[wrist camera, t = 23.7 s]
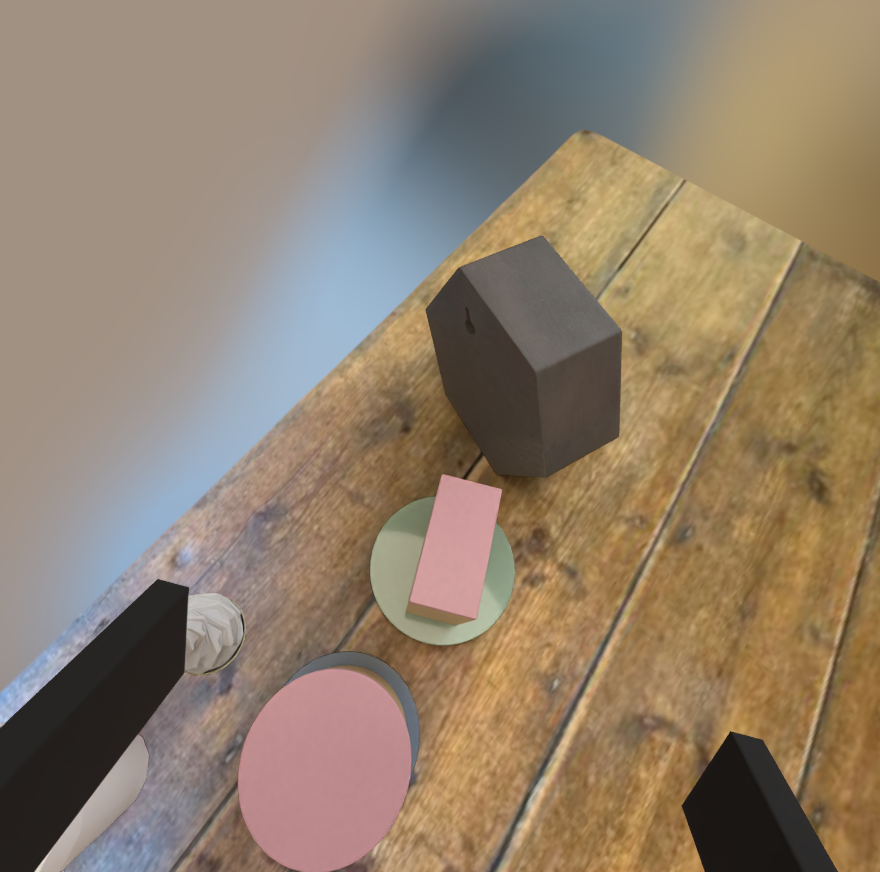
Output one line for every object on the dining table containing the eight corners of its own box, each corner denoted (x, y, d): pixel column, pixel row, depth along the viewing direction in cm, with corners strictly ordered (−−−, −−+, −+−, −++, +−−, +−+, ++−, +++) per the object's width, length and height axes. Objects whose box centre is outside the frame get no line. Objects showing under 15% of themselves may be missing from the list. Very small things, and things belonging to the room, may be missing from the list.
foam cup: (75, 890, 32) (-113, 1034, 20) (7, 777, 34) (-199, 848, 22) (196, 769, 35) (95, 832, 24) (127, 673, 38) (3, 687, 26)
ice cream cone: (277, 603, 41) (216, 582, 27) (269, 669, 39) (200, 682, 25) (216, 604, 40) (123, 583, 26) (205, 670, 38) (99, 685, 24)
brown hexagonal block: (618, 483, 43) (625, 252, 30) (550, 524, 40) (527, 293, 28) (510, 407, 55) (485, 223, 43) (454, 435, 53) (411, 249, 41)
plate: (344, 605, 41) (342, 605, 40) (407, 477, 46) (408, 474, 45) (481, 672, 40) (483, 673, 39) (531, 532, 45) (534, 530, 44)
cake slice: (456, 625, 40) (476, 619, 30) (405, 612, 40) (408, 601, 30) (478, 524, 44) (502, 489, 34) (431, 512, 44) (441, 473, 34)
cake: (232, 784, 35) (177, 832, 26) (314, 626, 40) (290, 621, 31) (377, 861, 34) (370, 939, 25) (442, 689, 39) (456, 703, 30)
